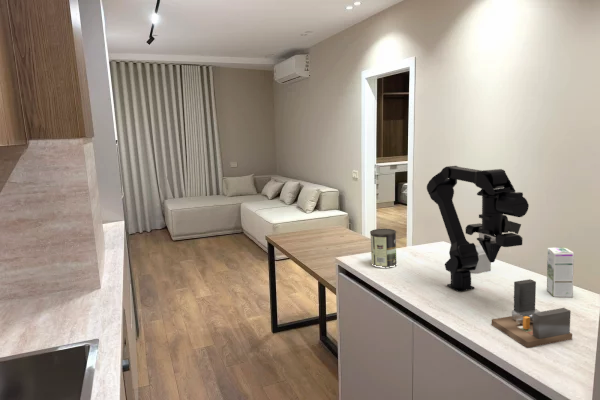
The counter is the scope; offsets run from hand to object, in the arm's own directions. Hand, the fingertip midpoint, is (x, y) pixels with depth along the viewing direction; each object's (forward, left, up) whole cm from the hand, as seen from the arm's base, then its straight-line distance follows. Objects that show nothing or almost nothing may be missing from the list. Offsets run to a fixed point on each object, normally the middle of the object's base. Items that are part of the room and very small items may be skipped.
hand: (491, 261), depth 126 cm
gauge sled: (+17, -4, -11) cm, 21 cm away
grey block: (-29, +17, -13) cm, 36 cm away
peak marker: (+20, -7, -11) cm, 24 cm away
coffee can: (-48, -10, -13) cm, 51 cm away
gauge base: (+19, -5, -13) cm, 23 cm away
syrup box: (+4, +23, -13) cm, 27 cm away
